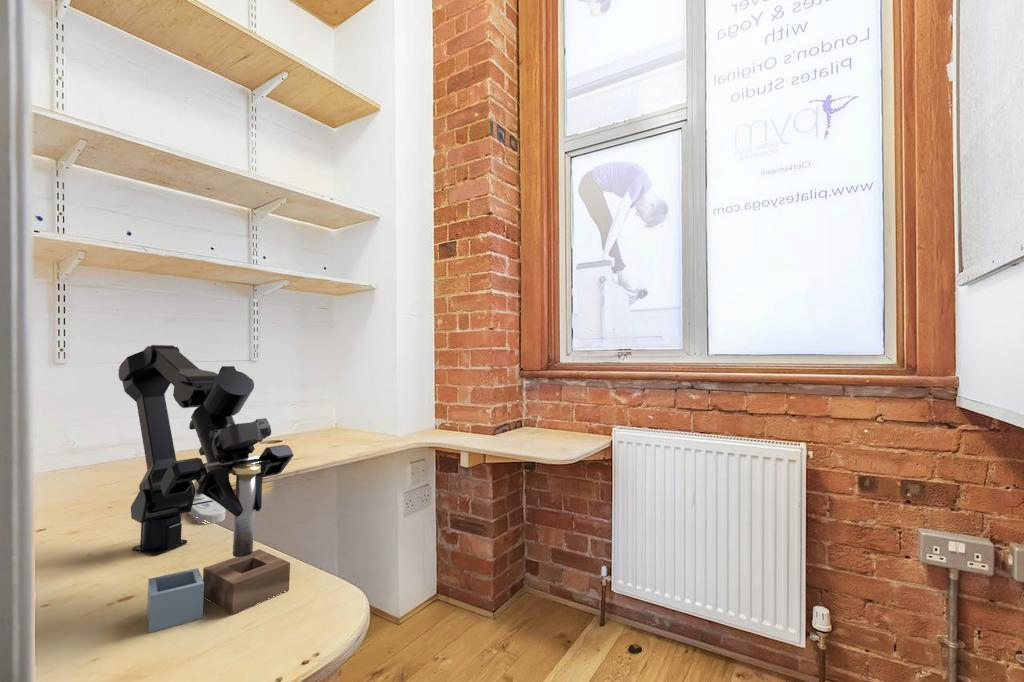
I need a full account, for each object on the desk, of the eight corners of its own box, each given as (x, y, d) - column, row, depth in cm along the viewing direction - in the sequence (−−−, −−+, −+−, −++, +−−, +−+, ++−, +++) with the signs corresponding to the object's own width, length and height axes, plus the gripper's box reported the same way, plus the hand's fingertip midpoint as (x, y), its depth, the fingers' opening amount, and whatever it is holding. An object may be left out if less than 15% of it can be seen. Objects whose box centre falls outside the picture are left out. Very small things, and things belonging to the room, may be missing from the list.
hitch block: (202, 596, 76) (203, 567, 76) (258, 575, 83) (259, 549, 83) (232, 614, 71) (233, 584, 71) (289, 590, 79) (290, 562, 79)
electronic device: (204, 483, 105) (183, 469, 115) (201, 528, 105) (181, 510, 115) (231, 479, 109) (209, 465, 119) (228, 522, 109) (206, 505, 119)
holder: (146, 613, 71) (148, 578, 71) (196, 600, 75) (198, 567, 75) (149, 633, 66) (150, 596, 66) (202, 618, 70) (204, 583, 70)
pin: (222, 556, 75) (226, 467, 76) (243, 546, 79) (247, 462, 80) (242, 560, 74) (246, 470, 74) (262, 550, 78) (266, 465, 78)
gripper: (172, 407, 72) (203, 496, 65) (290, 399, 87) (324, 471, 81) (148, 453, 76) (175, 541, 69) (264, 437, 91) (295, 508, 85)
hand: (249, 512), depth 76 cm, fingers closed on pin, 3 cm apart
